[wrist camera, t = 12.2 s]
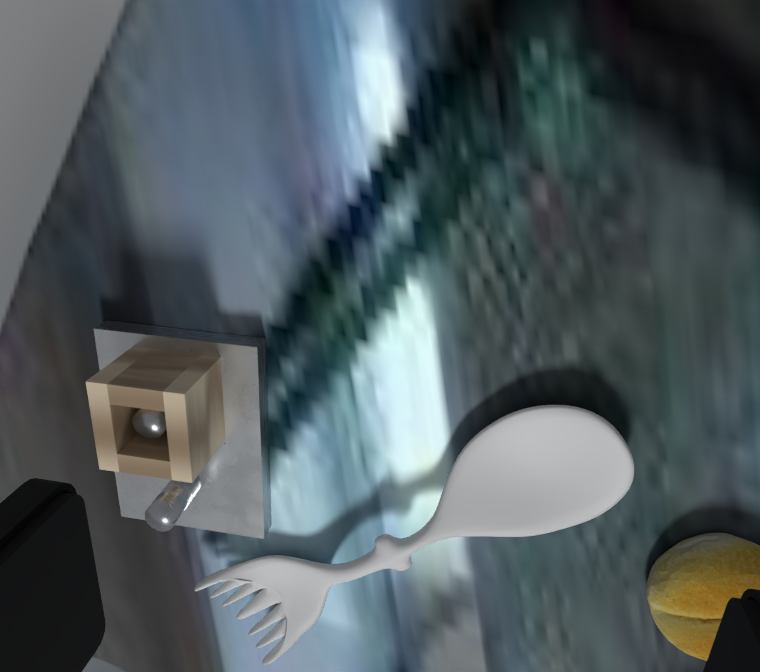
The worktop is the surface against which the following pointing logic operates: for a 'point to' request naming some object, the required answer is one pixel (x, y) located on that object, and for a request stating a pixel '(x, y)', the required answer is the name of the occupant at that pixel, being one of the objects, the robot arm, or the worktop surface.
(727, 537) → the bread roll
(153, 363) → the hollow wooden block
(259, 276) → the worktop surface
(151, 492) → the housing plate
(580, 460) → the spoon
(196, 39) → the worktop surface
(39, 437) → the worktop surface
